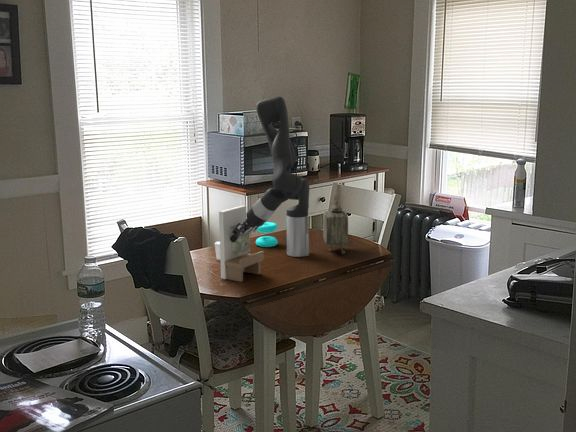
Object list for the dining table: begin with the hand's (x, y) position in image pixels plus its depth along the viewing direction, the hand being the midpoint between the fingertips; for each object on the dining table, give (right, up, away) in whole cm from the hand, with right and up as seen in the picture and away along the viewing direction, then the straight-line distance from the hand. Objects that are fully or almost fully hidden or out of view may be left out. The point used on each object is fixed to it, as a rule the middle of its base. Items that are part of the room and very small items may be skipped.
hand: (236, 238), depth 241 cm
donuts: (+10, -5, +48) cm, 49 cm away
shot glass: (-8, -9, +27) cm, 29 cm away
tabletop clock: (+40, -7, +36) cm, 55 cm away
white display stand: (+2, -14, +2) cm, 15 cm away
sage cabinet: (+2, -5, 0) cm, 5 cm away
